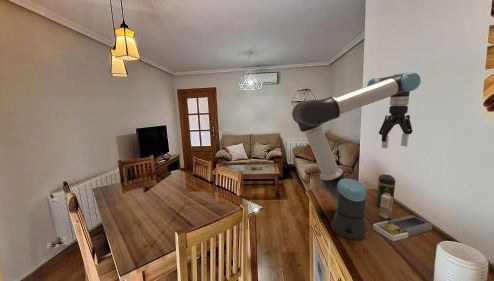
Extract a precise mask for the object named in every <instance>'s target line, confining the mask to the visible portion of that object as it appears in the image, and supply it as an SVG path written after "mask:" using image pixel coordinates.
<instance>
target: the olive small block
mask: <svg viewBox="0 0 494 281" xmlns="http://www.w3.org/2000/svg"><path fill="white" fill-rule="evenodd" d="M387 225H389V226H391V227H392V228H394V229H396V230H395V235H398V234H401V233H400V229H401V228H400V227H398V226H396V225H394V224H392V223H391V224H387Z"/></svg>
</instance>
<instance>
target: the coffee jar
mask: <svg viewBox="0 0 494 281" xmlns="http://www.w3.org/2000/svg"><path fill="white" fill-rule="evenodd" d="M377 183H378V184H377V190H376V191H377V193H376V205H377V207H378V208H380V204H381V195H386V194H387V195H389V196H392V197H393V201H394V199H395V198H394V197H395V188H396V179H395V177H394V176H392V175H390V174H384V173H382V174H381V175H380V174H379V176H378V181H377ZM393 208H394V205H393V206H392V210H393Z"/></svg>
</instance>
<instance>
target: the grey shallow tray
mask: <svg viewBox="0 0 494 281" xmlns="http://www.w3.org/2000/svg"><path fill="white" fill-rule="evenodd" d="M391 223H392V224H394V225H396V226H398V227H400V228H401V229H400V234H402V233H406V232H407V233H408V237H412V236H415V235H419V234H421V233H425V232H426V233H427V232H429V231H432V230H433V224H432V223H429V222H427V221H425V220H423V219H421V218H419V217H417V216H415V215H413V214H410V215H406V216H403V217H397V218H394V219H391V220H388V224H391Z"/></svg>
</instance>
